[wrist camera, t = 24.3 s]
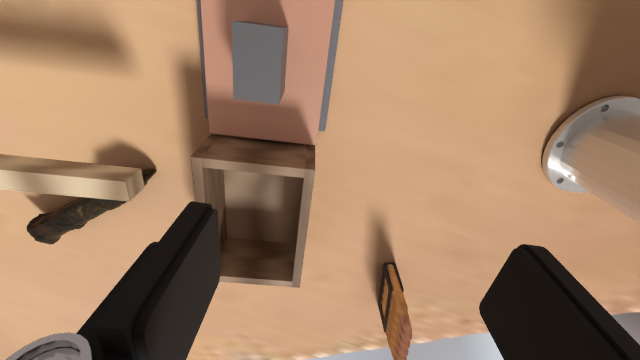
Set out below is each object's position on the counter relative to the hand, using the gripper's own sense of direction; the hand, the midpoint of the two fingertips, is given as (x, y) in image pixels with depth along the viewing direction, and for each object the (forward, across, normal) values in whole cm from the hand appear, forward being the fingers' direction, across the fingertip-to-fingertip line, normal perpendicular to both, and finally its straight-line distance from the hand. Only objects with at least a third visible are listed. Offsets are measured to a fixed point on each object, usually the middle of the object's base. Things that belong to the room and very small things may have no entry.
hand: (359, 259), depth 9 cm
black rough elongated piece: (+26, +30, +18) cm, 43 cm away
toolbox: (+26, +8, +15) cm, 31 cm away
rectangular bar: (+16, +24, +9) cm, 30 cm away
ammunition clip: (+27, -14, +31) cm, 43 cm away
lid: (+26, +8, -3) cm, 27 cm away
